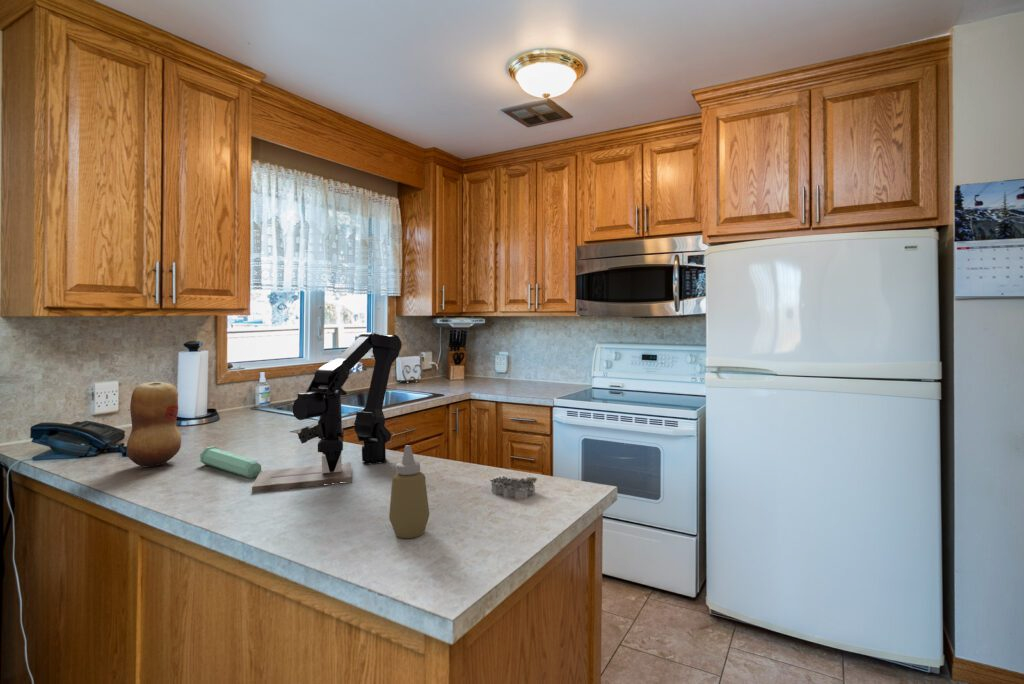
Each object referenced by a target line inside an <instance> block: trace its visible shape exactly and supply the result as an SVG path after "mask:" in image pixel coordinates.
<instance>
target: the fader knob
mask: <svg viewBox="0 0 1024 684" xmlns="http://www.w3.org/2000/svg"><path fill="white" fill-rule="evenodd" d="M342 464H343V463H342V453H341V454H340V457H339V460H338V462H337V465H336V468H335V470H334V472H341V471H342ZM321 466H322V473H331V472H330V471H329V467H328V463H327V459H326V456H325V454H323V453H322V452H321Z"/></svg>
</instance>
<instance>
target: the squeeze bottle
mask: <svg viewBox="0 0 1024 684" xmlns="http://www.w3.org/2000/svg"><path fill="white" fill-rule="evenodd" d="M426 483H427V482H426V475H425V474H424V473H423V472H421V463H420V462H419V461H417V460H415V458H414V454H413V449H412V445H411V444H409V445H408V444H407V445H405V446H404V450H403V456H402V459H401V462H398V463H397V464H396V473H395V474H394V475H393V476H392V477H391V487H390V488H391V489H390V503H389V512H388V513H389V514H388V517H389V522H390V525H391V527H392V530H393V532H394V535H395V536H396V537H397V538H400V539H413V538H417V537H420V536H422V535H423V534H424V532H426V531H425V530H426V527H427V525H428V520H429V517H430V507H429V500H428V492H427V491H428V490H427V484H426Z"/></svg>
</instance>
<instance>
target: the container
mask: <svg viewBox="0 0 1024 684" xmlns="http://www.w3.org/2000/svg"><path fill="white" fill-rule="evenodd" d="M199 454H200V455H199V457H200V459H199V460H200V463H201V464H203V465H204V466H206V465H207V466H211V467H213V468H217V469H219V470H223V471H226V472H229V473H232V472H233V474H235V473H236V475H238V474H239V476H241V475H242V477H244V476H245V478H247V477H248V479H253V478H257V477H258V475H259V473H260V471H262V464H261V463H260V462H259V461H257V460H256V459H253V458H248V457H245V456H242V455H239V454H235V453H233V452H230V451H229V452H228V451H225V450H222V449H219V448H217V447H216V446H214V445H212V446H208V447H205V448H204V449H203V450H202V451H201V453H199ZM252 477H253V478H252Z"/></svg>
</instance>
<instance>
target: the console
mask: <svg viewBox="0 0 1024 684" xmlns="http://www.w3.org/2000/svg"><path fill="white" fill-rule="evenodd" d="M340 482H351V483H352V463H351V462H346V463H344V462H343V463H342V471H341V472H331V473H322V465H315V466H314V465H313V466H301V467H291V468H281V469H270V470H268V469H267V470H261V471H260V473H259V475H258V476H256V479H255V481H254V482H253V484H252V486H251V492H253V493H260V492H259V491H263V492H272V491H271V490H273V491H279V490H280V491H281V489H283V490H291V489H290V488H292V489H300V488H299V487H302V488H308V487H307V486H312V487H317V486H316V485H322V486H325V485H324V484H332V483H340ZM332 485H333V484H332Z"/></svg>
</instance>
